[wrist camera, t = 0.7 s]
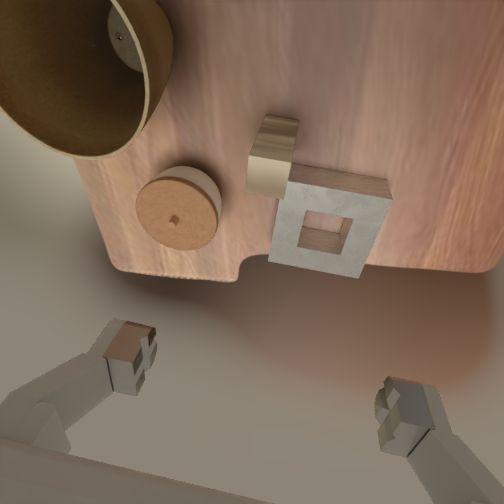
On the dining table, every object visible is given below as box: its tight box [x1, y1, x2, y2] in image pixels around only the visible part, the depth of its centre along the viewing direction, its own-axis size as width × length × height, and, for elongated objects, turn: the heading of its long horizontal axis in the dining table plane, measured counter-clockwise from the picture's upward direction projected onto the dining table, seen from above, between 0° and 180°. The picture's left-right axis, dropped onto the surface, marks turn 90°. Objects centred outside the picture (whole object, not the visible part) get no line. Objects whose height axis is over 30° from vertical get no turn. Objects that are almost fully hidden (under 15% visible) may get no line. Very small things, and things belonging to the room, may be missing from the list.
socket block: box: [268, 163, 393, 278], centre depth 46 cm, size 13×13×5 cm
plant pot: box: [0, 0, 174, 160], centre depth 32 cm, size 15×15×16 cm
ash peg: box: [245, 115, 299, 200], centre depth 37 cm, size 4×4×12 cm
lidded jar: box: [136, 166, 222, 250], centre depth 45 cm, size 11×11×9 cm
